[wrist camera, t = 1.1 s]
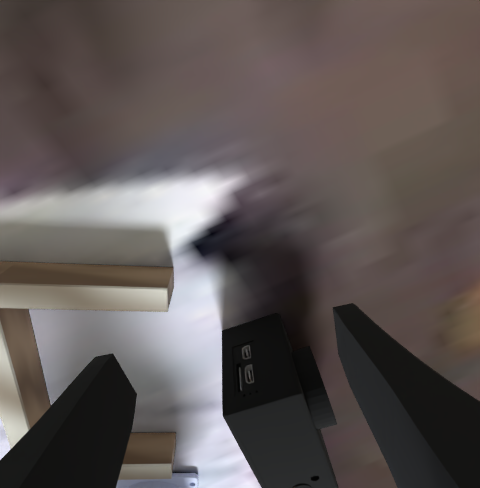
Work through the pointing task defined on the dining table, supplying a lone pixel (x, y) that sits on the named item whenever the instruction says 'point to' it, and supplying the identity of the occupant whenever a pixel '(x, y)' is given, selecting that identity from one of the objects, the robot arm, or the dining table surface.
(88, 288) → the frame
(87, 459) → the robot arm
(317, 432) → the digital camera
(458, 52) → the dining table surface
